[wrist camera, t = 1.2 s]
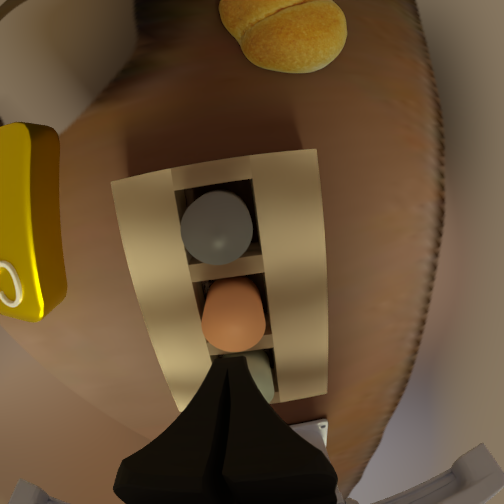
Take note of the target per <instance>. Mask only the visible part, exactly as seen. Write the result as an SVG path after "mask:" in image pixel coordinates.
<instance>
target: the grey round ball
mask: <svg viewBox="0 0 504 504" xmlns="http://www.w3.org/2000/svg"><path fill="white" fill-rule="evenodd" d="M180 231H181V238H182V241H183V243H184V246H185V247H186V249H187V250H188V252H189V253H190V254H191V255H192V256H193V257H195V258H196V259H198V260H199V261H201V262H203V263H206V264H211V265H223V264H227V263H230V262H233V261H235V260H236V259H238V258H239V257H240V256H241V255H243V253H244V252H245V251H246V250H247V248H248V246H249V244H250V242H251V239H252V234H253V226H252V221H251V217H250V214H249V210H248V208H247V205H246V203H245V202H244V201H243V199H242V198H241V197H240V196H238V195H237V194H236V193H234V192H232V191H229V190H224V189H216V190H212V191H209V192H207V193H205V194H203V195H202V196H201V197H199V198H198V199H197V200H195V201H194V202H193V203H192V204H191V205H190V206H189V207H188V208H187V210H186V211H185V213H184V215H183V217H182V221H181V228H180Z"/></svg>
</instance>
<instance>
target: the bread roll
mask: <svg viewBox="0 0 504 504" xmlns="http://www.w3.org/2000/svg"><path fill="white" fill-rule="evenodd" d="M219 12H220V17H221V20H222V23H223V25H224V26H225V28H226V29H227V30H228V31H229V32H230V34H231V35H232V36H233V37H234V38H235V39H236V40H237V41H238V43H239V44H240V46H241V50H242V52H243V53H244V55H245V56H246V58H247V59H248V60H249V61H250V62H251V63H253V64H254V65H256V66H258V67H261V68H264V69H267V70H273V71H278V72H285V73H309V72H314V71H316V70H319V69H321V68H323V67H325V66H327V65H328V64H329V63H330V62H332V61H333V60H334V59H335V58H336V57H337V56H338V54H339V53H340V52H341V50H342V48H343V47H344V44H345V41H346V37H347V28H346V19H345V15H344V13H343V12H342V10H341V9H340V8H339V6H338V5H337V4H336V3H334V2H333V1H332V0H220V4H219Z"/></svg>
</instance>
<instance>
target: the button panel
mask: <svg viewBox="0 0 504 504" xmlns="http://www.w3.org/2000/svg"><path fill="white" fill-rule="evenodd" d="M245 179H250V182H251V189H252V197H253V204H254V212H255V219H256V227H257V234H258V242H254V243H250V244H249V246H248V248H247V250H246V251H245V252H244V253H243V255H241V256H240V257H239V258H238V259H236V260H235V261H233V262H230V263H227V264H223V265H211V264H206V263H203V262H201V261H199V260H198V259H196V258H195V257H193V256H192V255H191V254H190V253H189V252H188V250H187V249H186V247H185V246H184V243H183V241H182V238H181V231H180V228H181V221H182V217H183V215H184V213H185V211H186V210H187V205H186V199H185V192H184V189H188V188H193V187H199V186H205V185H211V184H218V183H224V182H231V181H238V180H245ZM111 187H112V193H113V199H114V204H115V209H116V214H117V219H118V224H119V229H120V234H121V238H122V242H123V247H124V251H125V255H126V259H127V263H128V267H129V271H130V274H131V278H132V282H133V285H134V289H135V292H136V296H137V299H138V302H139V305H140V309H141V312H142V315H143V318H144V321H145V324H146V327H147V330H148V333H149V336H150V339H151V342H152V345H153V347H154V350H155V353H156V356H157V358H158V361H159V363H160V366H161V369H162V371H163V374H164V376H165V379H166V381H167V384H168V386H169V388H170V391H171V393H172V395H173V398H174V400H175V402H176V405H177V407H178V409H179V411H180V412H181V411H183V410H184V409H185V408H186V407H187V405H188V404H189V402H190V401H191V400H192V398H193V397H194V395H195V394H196V392H197V391H198V389H199V387H200V386H201V384H202V382H203V381H204V379H205V377H206V375H207V373H208V371H209V369H210V367H211V365H212V363H213V361H214V360H215V359H219V357H218V355H219V354H228V353H237V352H228V351H223V350H220V349H218V348H216V347H214V346H213V345H212V344H210V343H209V342H208V341H207V339H206V338H205V336H204V334H203V332H202V327H201V322H202V317H203V312H204V307H205V298H204V293H203V288H202V284H201V281H206V280H213V279H221V278H228V277H235V276H242V275H249V274H256V273H263V280H264V288H265V296H266V304H267V312H268V313H264V317H265V323H266V327H265V332H264V335H263V337H262V338H261V340H260V341H259V342H258V343H257V344H256V345H255V346H253V347H251V348H250V349H247V350H244V351H240V352H245V351H252V350H259V349H266V348H272V352H273V360H274V368H271V374H272V380H273V386H274V397H273V399H272V400H271V402H270V403H269V404H273V403H280V402H286V401H292V400H297V399H303V398H308V397H313V396H318V395H322V394H327V380H328V291H327V265H326V247H325V231H324V218H323V206H322V195H321V185H320V175H319V166H318V158H317V150H316V149H306V150H294V151H283V152H274V153H265V154H256V155H248V156H241V157H234V158H227V159H220V160H214V161H208V162H202V163H196V164H190V165H185V166H180V167H175V168H170V169H165V170H160V171H155V172H150V173H146V174H142V175H137V176H133V177H129V178H125V179H121V180H117V181H113V182H111Z"/></svg>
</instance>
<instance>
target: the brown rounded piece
mask: <svg viewBox="0 0 504 504" xmlns="http://www.w3.org/2000/svg"><path fill="white" fill-rule="evenodd" d="M201 327H202V332H203V334H204V336H205V338H206V339H207V341H208V342H209V343H210V344H212V345H213V346H214V347H216V348H218V349H220V350H223V351H228V352H240V351H244V350H247V349H250V348H251V347H253V346H255V345H256V344H257V343H258V342H259V341H260V340H261V338H262V337H263V335H264V332H265V327H266V323H265V317H264V312H263V307H262V302H261V296H260V292H259V289H258V288H257V286H256V285H255V283H254V282H253V281H251V280H250V279H248V278H247V277H244V276H235V277H228V278H221V279H217V280H216V281H215V282H214V283H213V284H212V285H211V286H210V288H209V290H208V293H207V298H206V302H205V307H204V312H203V317H202V322H201Z"/></svg>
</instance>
